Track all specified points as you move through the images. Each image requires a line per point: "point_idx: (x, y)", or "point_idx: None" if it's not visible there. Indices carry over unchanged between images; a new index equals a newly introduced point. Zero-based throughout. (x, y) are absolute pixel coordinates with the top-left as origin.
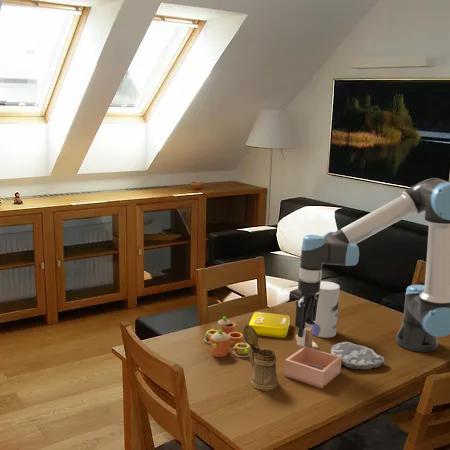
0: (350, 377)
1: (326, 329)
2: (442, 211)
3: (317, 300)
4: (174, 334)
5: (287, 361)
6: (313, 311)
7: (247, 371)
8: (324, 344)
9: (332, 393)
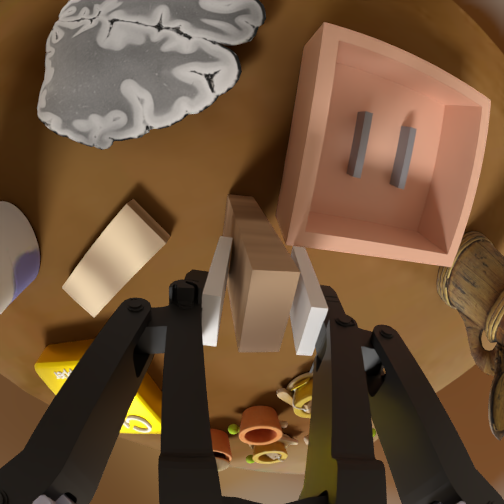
0: (314, 9)
1: (8, 234)
2: None
3: (31, 461)
4: (277, 471)
5: (453, 254)
6: (119, 378)
7: (409, 333)
8: (70, 202)
9: (451, 66)
